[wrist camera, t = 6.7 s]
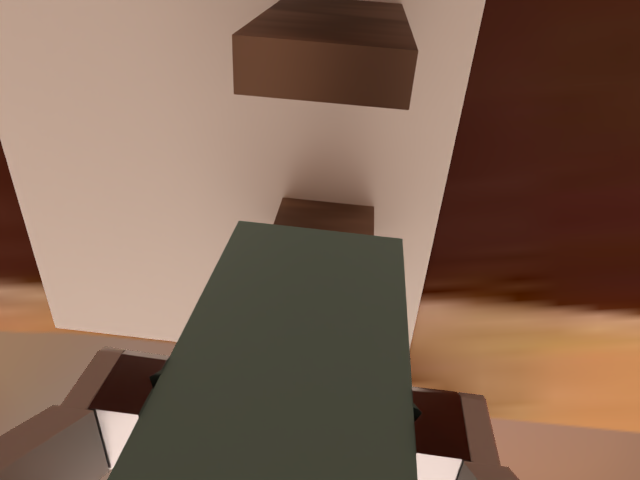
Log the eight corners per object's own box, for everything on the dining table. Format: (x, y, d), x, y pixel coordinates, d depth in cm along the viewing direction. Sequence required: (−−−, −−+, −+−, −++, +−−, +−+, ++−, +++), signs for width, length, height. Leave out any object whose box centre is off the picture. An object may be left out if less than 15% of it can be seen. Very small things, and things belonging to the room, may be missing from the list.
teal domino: (239, 263, 16) (79, 630, 8) (238, 220, 15) (56, 579, 7) (394, 281, 16) (408, 685, 7) (402, 238, 15) (427, 637, 6)
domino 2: (282, 222, 28) (241, 348, 20) (282, 197, 27) (240, 317, 19) (370, 231, 28) (368, 363, 19) (374, 206, 27) (373, 332, 18)
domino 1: (286, 33, 23) (233, 94, 14) (287, -6, 22) (231, 34, 13) (396, 42, 22) (408, 110, 14) (402, 3, 22) (418, 50, 13)
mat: (58, 323, 34) (55, 327, 34) (-117, -284, 19) (-125, -288, 18) (405, 363, 33) (405, 368, 33) (536, -248, 17) (540, -251, 17)
